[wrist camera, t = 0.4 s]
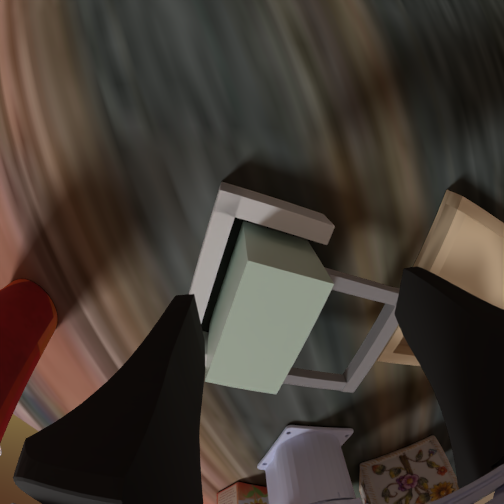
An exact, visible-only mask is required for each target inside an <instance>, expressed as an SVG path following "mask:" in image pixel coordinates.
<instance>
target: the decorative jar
mask: <svg viewBox="0 0 504 504" xmlns="http://www.w3.org/2000/svg"><path fill="white" fill-rule="evenodd" d="M457 490H459V487H458V485H457V478H456V476H455V474H454V472H453V470H452V467H451V465H450V463H449V461H448V459H447V457H446V455H445V453H444V451H443V449H442V447H441V445H440V443H439V442H438V440H437V438H436V437H435V436H433V435H431V436H429V437H427V438H425V439H423V440H420V441H418V442H416V443H414V444H411V445H409V446H407V447H404V448H401V449H399V450H396V451H394V452H391V453H389V454H386V455H383V456H381V457H378V458H375V459H372V460H369V461H366V462H362V463H361V464H360V475H359V492H360V494H361V497H362V501H363V504H365V503H368V504H429V503H431V502H433V501H436V500H438V499H440V498H442V497H444V496H446V495H448V494H451V493H453V492H455V491H457Z"/></svg>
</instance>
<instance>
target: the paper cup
mask: <svg viewBox="0 0 504 504" xmlns="http://www.w3.org/2000/svg"><path fill="white" fill-rule="evenodd" d="M57 322H58V316H57V311H56V308H55V306H54V303H53V302H52V300H51V298H50V297H49V295H48V294H47V293H46V292H45V291H44V290H43V289H42V288H41V287H40V286H39V285H37V284H36V283H34V282H32V281H30V280H27V279H17V280H15V281H13V282H11V283H10V284H8V285H7V286H6V287H4V288H3V289H2V290H0V443H1V440H2V437H3V435H4V432H5V430H6V428H7V425H8V423H9V421H10V419H11V416H12V414H13V412H14V410H15V408H16V405H17V403H18V401H19V399H20V397H21V395H22V393H23V391H24V389H25V387H26V385H27V382H28V380H29V378H30V376H31V374H32V373H33V371H34V369H35V367H36V365H37V363H38V361H39V359H40V357H41V355H42V353H43V352H44V350H45V348H46V346H47V344H48V342H49V340H50V338H51V337H52V335H53V333H54V331H55V329H56V326H57ZM1 453H2V451H1V447H0V455H1Z"/></svg>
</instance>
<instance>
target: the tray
mask: <svg viewBox="0 0 504 504" xmlns="http://www.w3.org/2000/svg"><path fill="white" fill-rule="evenodd" d="M416 266H418V267H421V268H423V269H425V270H428V271H430V272H432V273H434V274H436V275H438V276H439V277H441V278H443V279H445V280H447V281H449V282H450V283H452V284H454V285H456V286H458V287H459V288H461V289H463V290H465V291H467V292H469V293H471V294H472V295H474V296H476V297H478V298H480V299H482V300H484V301H486V302H488V303H490V304H492V305H494V306H497V307H499V308H501V309H503V310H504V223H503V222H501V221H500V220H498V219H497V218H495V217H494V216H493V215H491V214H490V213H488V212H487V211H485V210H484V209H482V208H480V207H479V206H477V205H476V204H474V203H473V202H471V201H470V200H468V199H466V198H465V197H463V196H461V195H459V194H456V193H454V192H452V191H449V190H446V193H445V195H444V198H443V200H442V203H441V205H440V208H439V210H438V213H437V215H436V217H435V220H434V222H433V224H432V227H431V229H430V231H429V233H428V236H427V238H426V240H425V242H424V244H423V247H422V249H421V251H420V253H419V255H418V257H417V259H416V261H415V263H414V265H413V267H416ZM377 361H381V362H389V363H397V364H406V365H415V366H420V364H419V362H418V361H417V359H416V357H415V355H414V354H413V352H412V350H411V348H410V347H409V345H408V343H407V341H406V340H405V338H404V336H403V334H402V331H401V329H400V327H399V324H398V326H397V328H396V329H395V331H394V333H393V334H392V336H391V337H390V339H389V341H388V342H387V344H386V345H385V347H384V349H383V350H382V352H381V353H380V355H379V356H378V358H377Z"/></svg>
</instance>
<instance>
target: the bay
mask: <svg viewBox="0 0 504 504" xmlns="http://www.w3.org/2000/svg"><path fill="white" fill-rule="evenodd" d="M235 217H236V218H239V219H243V220H246V221H250V222H253V223H256V224H260V225H263V226H266V227H270V228H273V229H276V230H279V231H283V232H286V233H289V234H293V235H296V236H299V237H302V238H305V239H309V240H312V241H315V242H318V243H321V244H325V245H328V242H329V240H330V237H331V235H332V233H333V230H334V228H335V226H334V225H333V224H332V223H331V221H330V220H329V219H328V218H327V217H326V216H325V215H324V214H322V213H319V212H316V211H313V210H310V209H307V208H304V207H301V206H298V205H295V204H292V203H289V202H286V201H283V200H280V199H277V198H274V197H271V196H267V195H264V194H261V193H258V192H255V191H252V190H248V189H245V188H242V187H238V186H235V185H232V184H229V183H225V182H222V181H221V184H220V188H219V191H218V194H217V197H216V200H215V204H214V207H213V210H212V214H211V217H210V220H209V224H208V227H207V230H206V234H205V237H204V241H203V244H202V248H201V251H200V255H199V258H198V262H197V265H196V269H195V272H194V276H193V280H192V283H191V287H190V291H189V294H194V295H195V300H196V304H197V309H198V313H199V318H200V322H201V323H202V320H203V317H204V314H205V310H206V307H207V304H208V300H209V297H210V294H211V291H212V288H213V284H214V281H215V278H216V275H217V272H218V268H219V265H220V262H221V259H222V256H223V253H224V249H225V246H226V243H227V240H228V237H229V234H230V231H231V228H232V225H233V222H234V219H235ZM203 335H204V339H205V367H206V361H207V347H208V335H209V332H205V331H203Z"/></svg>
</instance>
